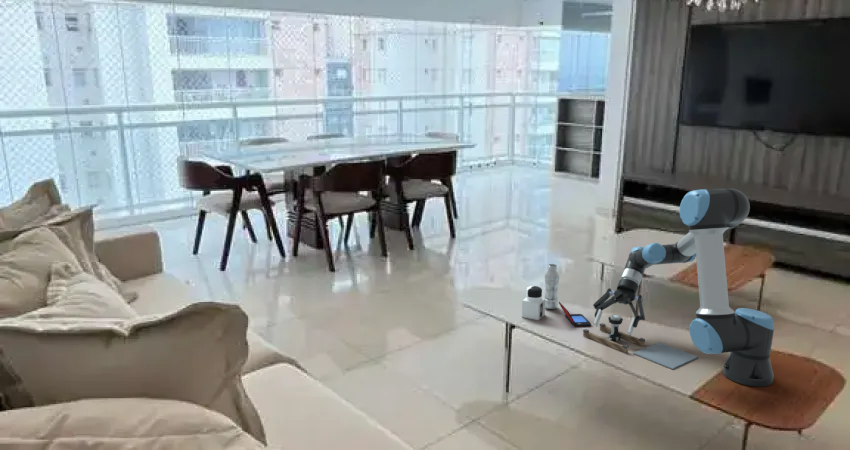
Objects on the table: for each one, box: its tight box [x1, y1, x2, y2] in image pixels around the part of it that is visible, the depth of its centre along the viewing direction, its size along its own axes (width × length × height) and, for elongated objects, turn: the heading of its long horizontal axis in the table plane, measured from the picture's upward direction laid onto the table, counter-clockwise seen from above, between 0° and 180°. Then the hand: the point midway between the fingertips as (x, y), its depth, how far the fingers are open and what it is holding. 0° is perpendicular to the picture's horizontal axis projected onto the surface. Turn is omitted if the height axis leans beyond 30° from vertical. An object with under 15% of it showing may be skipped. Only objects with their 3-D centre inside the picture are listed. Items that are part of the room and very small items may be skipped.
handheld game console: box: [558, 301, 592, 328], centre depth 256 cm, size 12×11×7 cm
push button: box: [607, 314, 624, 342], centre depth 236 cm, size 7×5×10 cm
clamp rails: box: [582, 322, 646, 354], centre depth 237 cm, size 20×12×3 cm, turn 36°
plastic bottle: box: [544, 263, 560, 310], centre depth 269 cm, size 6×7×20 cm
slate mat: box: [632, 341, 699, 370], centre depth 223 cm, size 16×16×1 cm
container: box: [521, 285, 546, 321], centre depth 261 cm, size 8×8×13 cm
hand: (611, 329), depth 235 cm, fingers open, 13 cm apart
